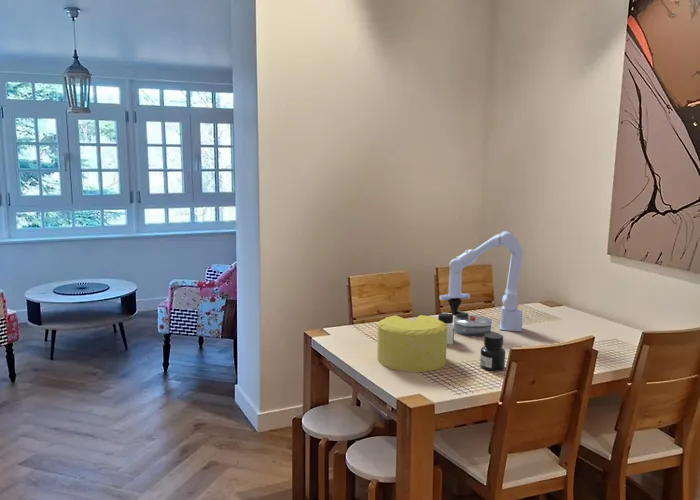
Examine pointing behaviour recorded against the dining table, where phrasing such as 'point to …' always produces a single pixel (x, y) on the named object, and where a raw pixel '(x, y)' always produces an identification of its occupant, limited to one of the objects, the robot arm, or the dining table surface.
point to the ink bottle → (492, 352)
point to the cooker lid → (471, 320)
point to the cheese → (412, 343)
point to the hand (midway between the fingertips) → (453, 314)
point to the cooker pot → (471, 330)
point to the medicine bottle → (448, 326)
